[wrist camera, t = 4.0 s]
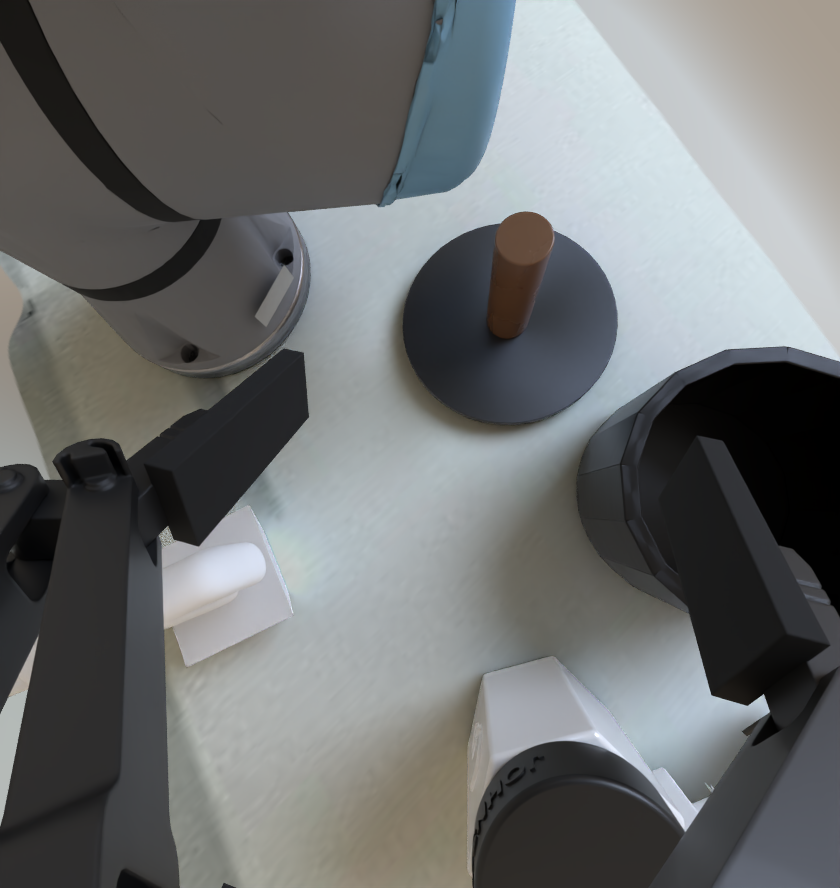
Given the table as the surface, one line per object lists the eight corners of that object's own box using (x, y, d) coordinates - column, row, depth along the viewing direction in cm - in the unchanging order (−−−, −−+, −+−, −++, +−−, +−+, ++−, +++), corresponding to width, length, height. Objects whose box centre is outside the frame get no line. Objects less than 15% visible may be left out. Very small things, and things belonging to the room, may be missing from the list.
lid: (364, 335, 31) (316, 254, 21) (499, 196, 32) (513, 53, 22) (512, 470, 29) (537, 450, 19) (657, 317, 29) (756, 218, 19)
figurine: (329, 594, 29) (186, 687, 14) (206, 654, 29) (-58, 805, 14) (289, 497, 30) (118, 489, 15) (171, 556, 31) (-105, 603, 16)
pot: (533, 497, 28) (561, 493, 20) (667, 354, 29) (749, 292, 20) (699, 649, 26) (809, 716, 18) (842, 491, 26) (1016, 484, 18)
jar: (487, 636, 27) (502, 733, 16) (618, 673, 26) (741, 809, 14) (455, 783, 26) (446, 1007, 15) (590, 829, 25) (698, 1112, 13)
